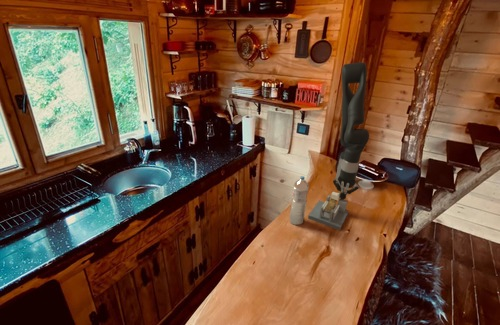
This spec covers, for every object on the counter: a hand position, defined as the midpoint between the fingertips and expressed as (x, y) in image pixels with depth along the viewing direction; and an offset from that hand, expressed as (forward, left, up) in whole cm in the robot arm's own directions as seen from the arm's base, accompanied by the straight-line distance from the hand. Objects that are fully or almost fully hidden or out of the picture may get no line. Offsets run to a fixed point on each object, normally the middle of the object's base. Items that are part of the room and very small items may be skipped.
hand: (342, 198), depth 139 cm
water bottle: (+20, -16, -9) cm, 27 cm away
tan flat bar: (+6, -4, -3) cm, 8 cm away
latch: (0, -4, -1) cm, 4 cm away
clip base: (+6, -4, -9) cm, 11 cm away
